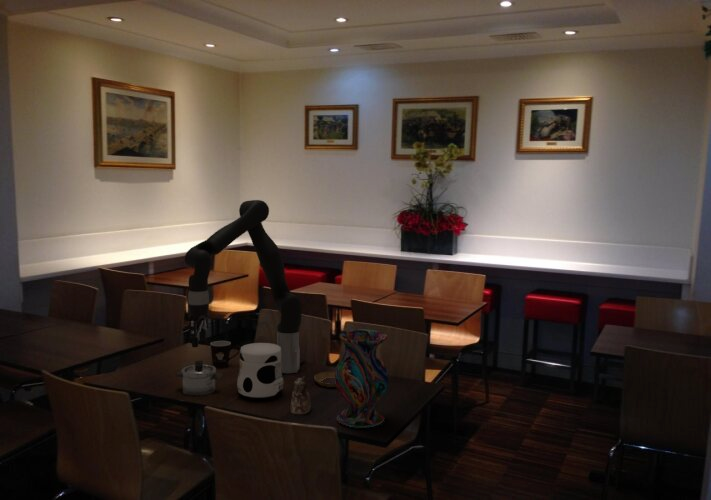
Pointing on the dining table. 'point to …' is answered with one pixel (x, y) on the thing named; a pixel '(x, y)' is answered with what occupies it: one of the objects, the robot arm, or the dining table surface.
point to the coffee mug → (221, 353)
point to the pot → (199, 381)
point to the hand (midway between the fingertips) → (199, 343)
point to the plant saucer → (323, 376)
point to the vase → (361, 377)
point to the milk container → (260, 371)
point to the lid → (198, 368)
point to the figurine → (300, 397)
